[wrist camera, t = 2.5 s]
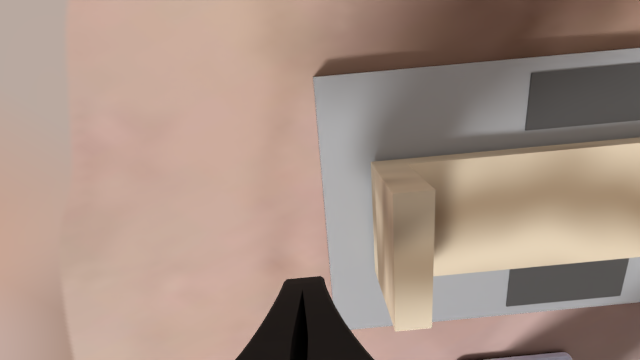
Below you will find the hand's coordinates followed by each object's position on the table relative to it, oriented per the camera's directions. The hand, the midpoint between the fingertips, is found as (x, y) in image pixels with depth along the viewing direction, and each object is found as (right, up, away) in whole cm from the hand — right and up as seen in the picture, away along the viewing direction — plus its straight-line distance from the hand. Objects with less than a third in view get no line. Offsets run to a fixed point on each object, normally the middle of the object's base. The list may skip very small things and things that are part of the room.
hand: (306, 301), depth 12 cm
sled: (+14, +3, +6) cm, 16 cm away
